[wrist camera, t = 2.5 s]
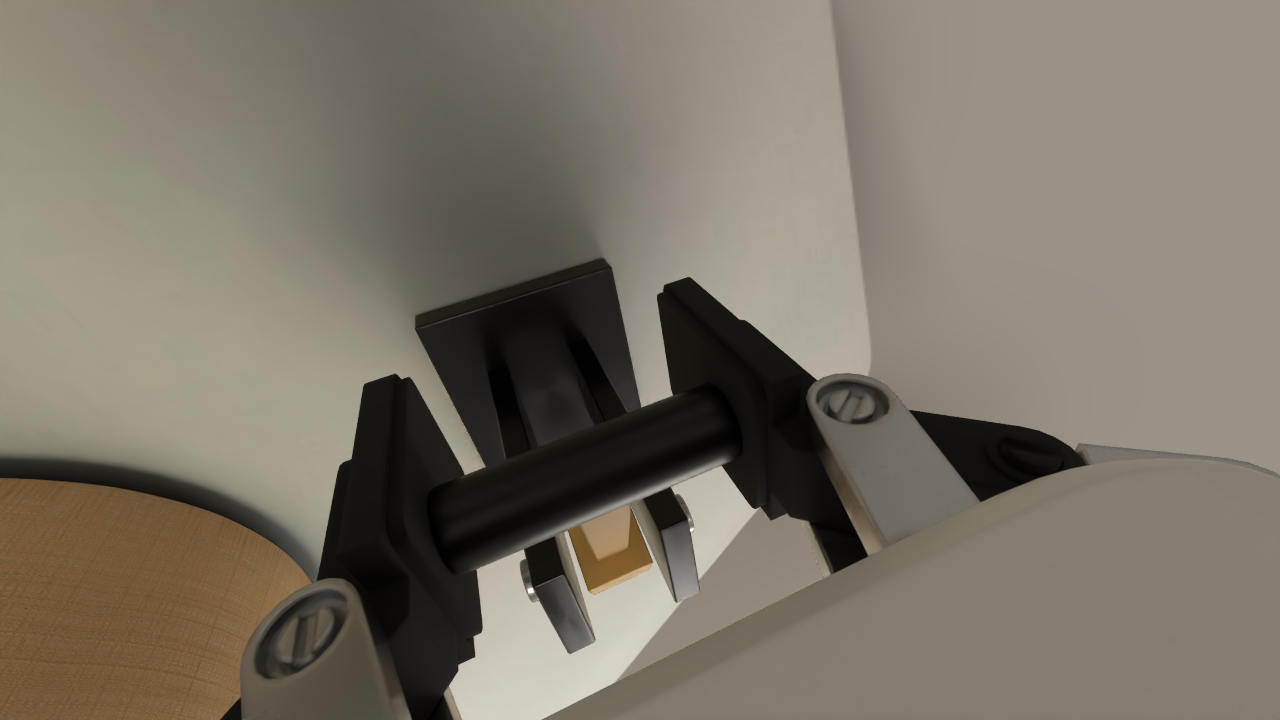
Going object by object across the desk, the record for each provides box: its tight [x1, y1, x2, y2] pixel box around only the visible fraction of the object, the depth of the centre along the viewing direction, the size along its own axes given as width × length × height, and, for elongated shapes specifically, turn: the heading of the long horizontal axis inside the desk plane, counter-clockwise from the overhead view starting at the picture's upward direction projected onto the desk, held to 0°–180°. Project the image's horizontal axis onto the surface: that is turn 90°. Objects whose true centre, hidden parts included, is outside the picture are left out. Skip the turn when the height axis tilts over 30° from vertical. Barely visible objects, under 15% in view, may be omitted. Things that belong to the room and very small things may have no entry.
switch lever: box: [428, 383, 743, 595], centre depth 13 cm, size 12×5×2 cm, turn 9°
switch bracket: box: [415, 259, 700, 654], centre depth 21 cm, size 11×9×13 cm
